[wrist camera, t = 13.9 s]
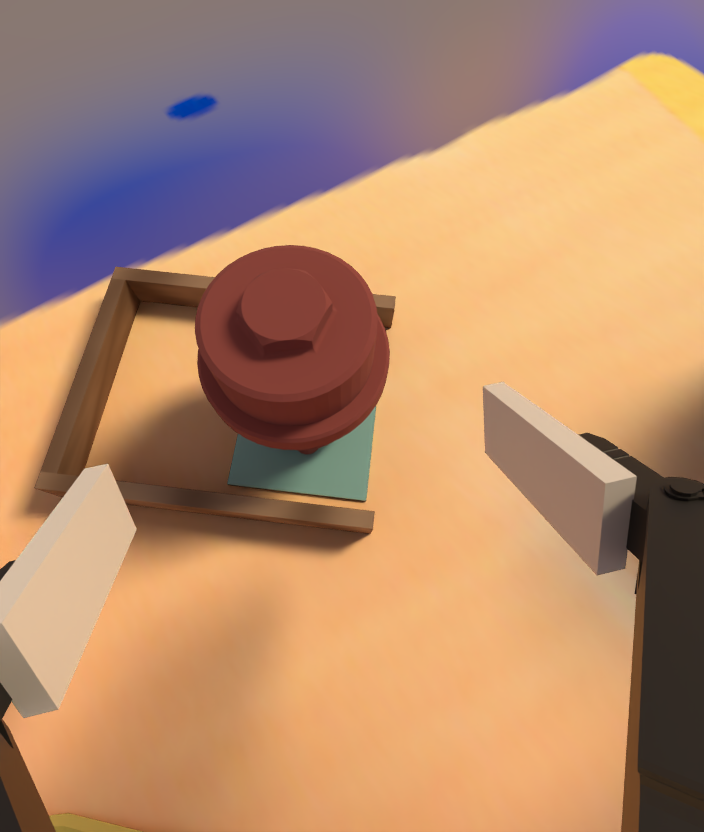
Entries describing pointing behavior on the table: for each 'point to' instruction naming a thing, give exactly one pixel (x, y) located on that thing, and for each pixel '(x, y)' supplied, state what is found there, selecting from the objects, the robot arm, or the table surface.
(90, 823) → the plastic component
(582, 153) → the table surface
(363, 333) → the mechanical component
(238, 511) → the bay
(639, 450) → the table surface
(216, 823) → the table surface
